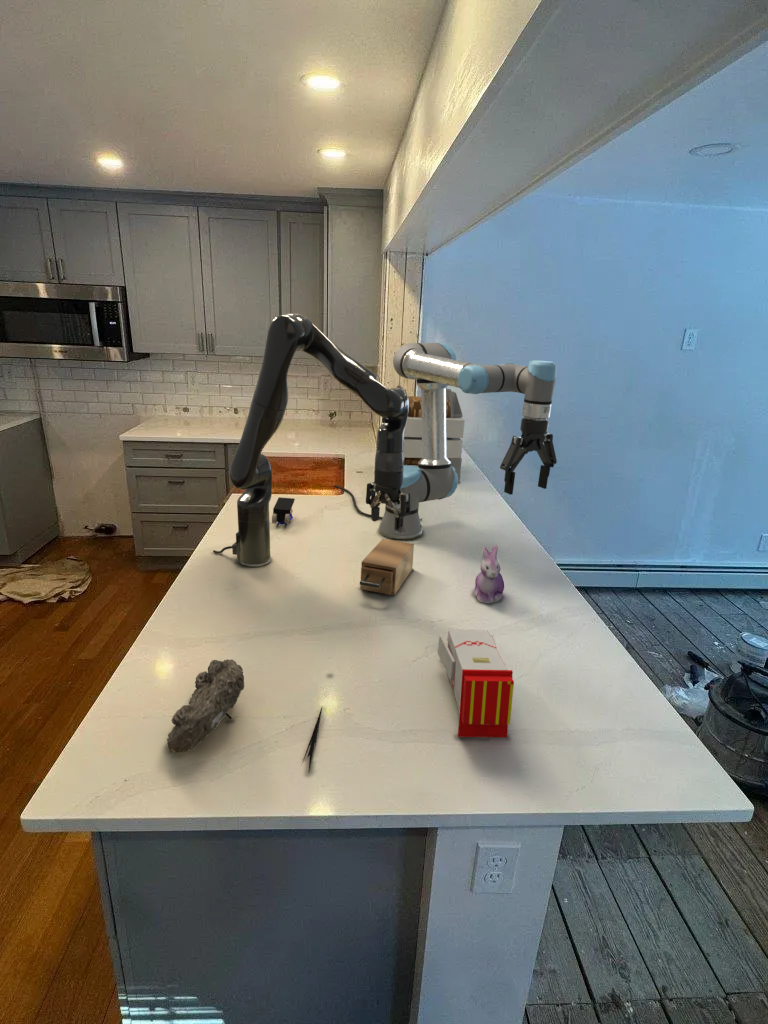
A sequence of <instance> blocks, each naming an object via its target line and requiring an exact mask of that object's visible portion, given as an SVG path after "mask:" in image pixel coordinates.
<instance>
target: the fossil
mask: <svg viewBox="0 0 768 1024" xmlns="http://www.w3.org/2000/svg"><path fill="white" fill-rule="evenodd" d="M243 670H244V669H243V667H242V665H240V664H237V662H236V661H235V660H234V659H232V658H231V659H227V658H226V659H224V660H223V661H222V660H217V659H212V660H211V661H210V663H209V665H208V666H207V671H201V672H199V673H198V674H197V675H196V676H195V680H194V684H195V685H194V687H195V689H194V690H193V693H192V694H191V697H190V698H189V700H188V704H184V705H182V706H181V707H180V709H177V710H176V711H175V713H174V715H173V716H172V718H171V723H172V724H173V727H172V730H171V731H170V732H168V734H167V738H166V741H167V742H166V745H167V749H168V750H169V751H173V752H174V753H176V754H178V753H182V752H188V751H189V752H192V751H193V750H195V748H196V747H197V746H199V744H200V743H201V742H203V741H204V740H205V739H206V738H207V737H208V736H209V735H210V734H211V733H212V732H214V730H215V729H217V727H218V726H219V724H220V722H221V721H222V720H223V719H224V718H225V716H226V717H227V719H229V720H233V717H232V715H230V714H229V710H230V709H231V708H234V706H235V704H236V703H237V702H238V699H239V697H240V695H241V693H242V691H243V690H245V689H244V688H245V675H244V671H243Z"/></svg>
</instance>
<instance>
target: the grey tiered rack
mask: <svg viewBox="0 0 768 1024" xmlns="http://www.w3.org/2000/svg"><path fill="white" fill-rule="evenodd" d="M396 388H400V389H402V390H403V391H404V392H405V393H406V394H407V396H408V400H409V411H408V417H407V422H406V427H405V431H404V450H403V451H404V465H406V466H408V465H413V466H417V467H418V462H419V461H420V460H421V459H422V415H421V396H415V395H414V396H413V395H412V396H411V395H408V393H407V390H406V389H404V388H403V387H402V385H399V384H398V385H397V386H396ZM464 429H465V419H464V418H463V411H462V408H461V405H460V402H459V398H458V395H457V392H455V391H453V390H452V389H451V388H448V387H447V388H446V457H447V459H448V460H449V461H450V462H451V466H452V467H453V468H454V469H455V470H456V472H455V473H457V476H458V484H459V483H461V472H462V461H463V460H462V453H463V442H464V441H463V440H462V439H463V438H464V431H465V430H464Z"/></svg>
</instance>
